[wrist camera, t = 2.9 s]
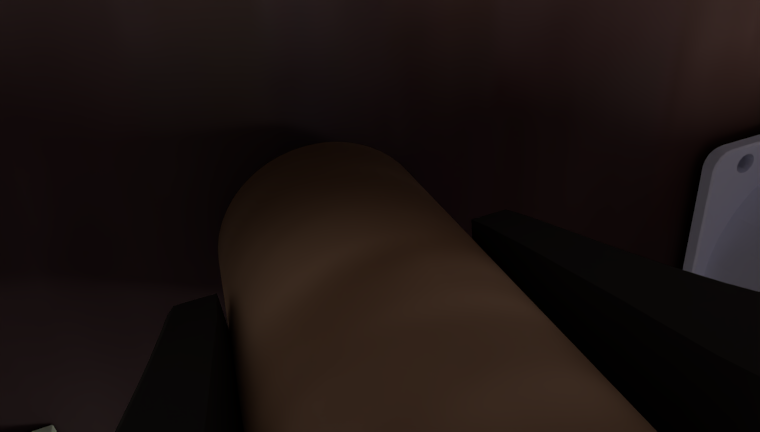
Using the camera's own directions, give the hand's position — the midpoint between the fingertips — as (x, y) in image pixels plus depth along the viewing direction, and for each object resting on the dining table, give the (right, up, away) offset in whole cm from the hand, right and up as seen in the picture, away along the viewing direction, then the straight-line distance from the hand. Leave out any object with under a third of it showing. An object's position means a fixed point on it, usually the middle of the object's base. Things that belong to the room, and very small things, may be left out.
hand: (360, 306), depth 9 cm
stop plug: (-1, +1, +2) cm, 2 cm away
